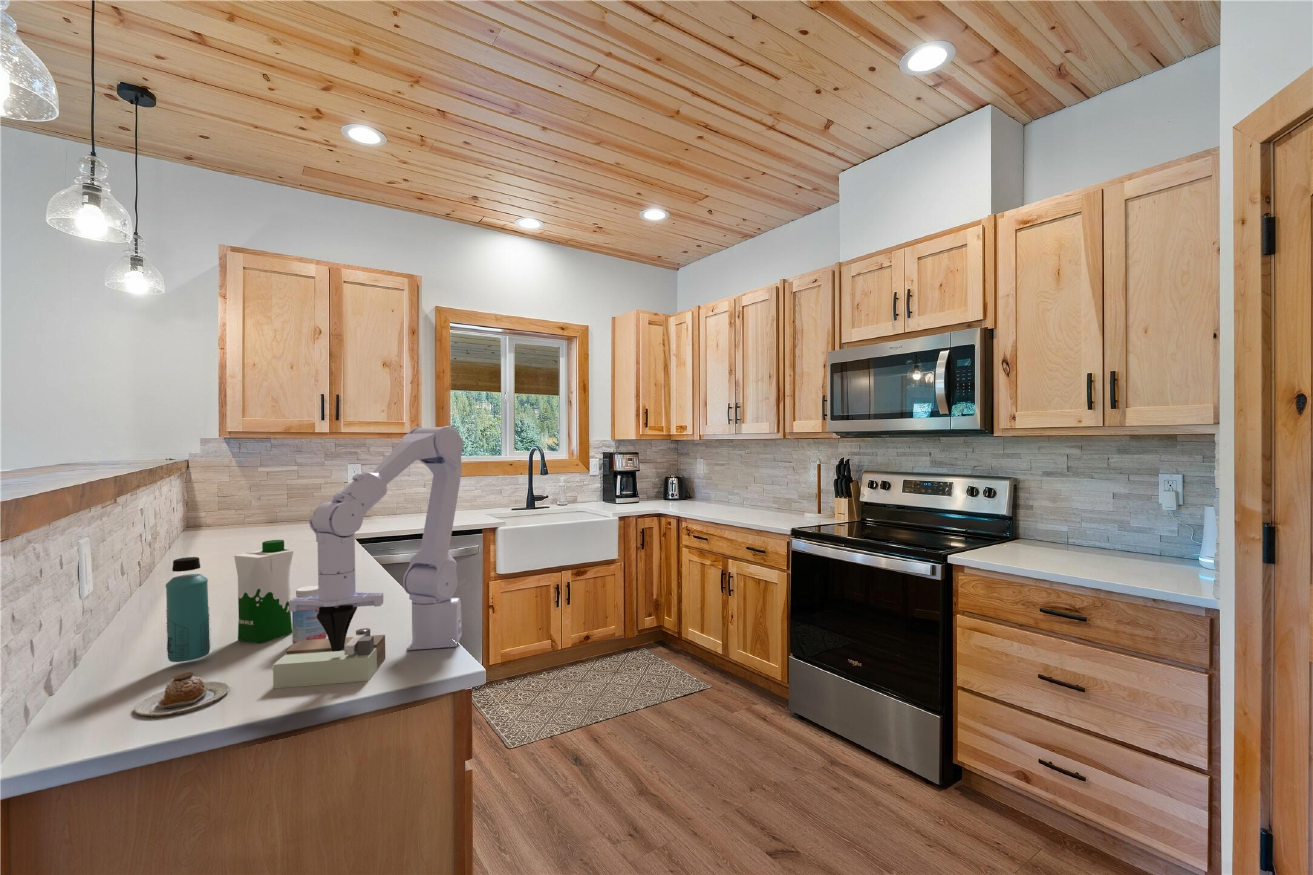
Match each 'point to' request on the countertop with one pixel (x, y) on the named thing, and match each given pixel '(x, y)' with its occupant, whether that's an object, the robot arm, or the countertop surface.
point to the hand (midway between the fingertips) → (338, 649)
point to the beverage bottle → (187, 613)
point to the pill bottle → (306, 619)
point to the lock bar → (355, 641)
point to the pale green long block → (326, 666)
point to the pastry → (182, 695)
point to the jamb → (324, 645)
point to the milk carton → (264, 593)
